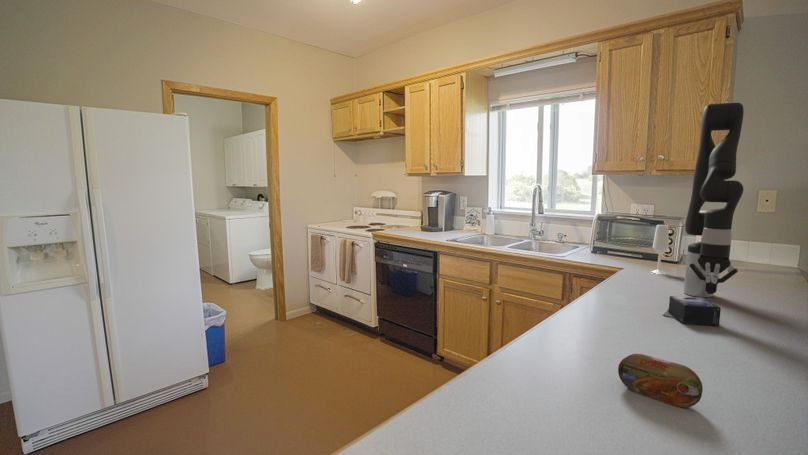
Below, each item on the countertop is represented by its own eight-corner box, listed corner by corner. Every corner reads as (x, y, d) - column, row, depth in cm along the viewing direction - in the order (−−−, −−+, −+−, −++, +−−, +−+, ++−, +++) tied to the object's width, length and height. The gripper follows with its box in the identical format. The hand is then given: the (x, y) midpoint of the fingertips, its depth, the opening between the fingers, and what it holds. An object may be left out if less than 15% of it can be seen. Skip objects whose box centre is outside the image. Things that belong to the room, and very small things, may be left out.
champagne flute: (647, 271, 194) (651, 224, 191) (659, 271, 195) (663, 224, 192) (657, 275, 187) (661, 226, 184) (669, 274, 188) (674, 226, 185)
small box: (721, 306, 121) (684, 304, 123) (720, 326, 122) (682, 324, 124) (703, 296, 131) (668, 295, 133) (701, 314, 132) (667, 313, 134)
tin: (616, 386, 87) (619, 351, 86) (620, 381, 89) (623, 346, 88) (699, 415, 76) (703, 374, 75) (701, 408, 79) (705, 369, 78)
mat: (671, 306, 141) (672, 305, 141) (707, 313, 134) (707, 312, 134) (662, 315, 132) (662, 314, 132) (701, 323, 124) (701, 322, 124)
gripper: (743, 243, 123) (737, 295, 126) (692, 238, 133) (688, 287, 135) (741, 246, 118) (735, 300, 120) (688, 241, 127) (684, 291, 130)
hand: (710, 293), depth 128 cm, fingers closed
